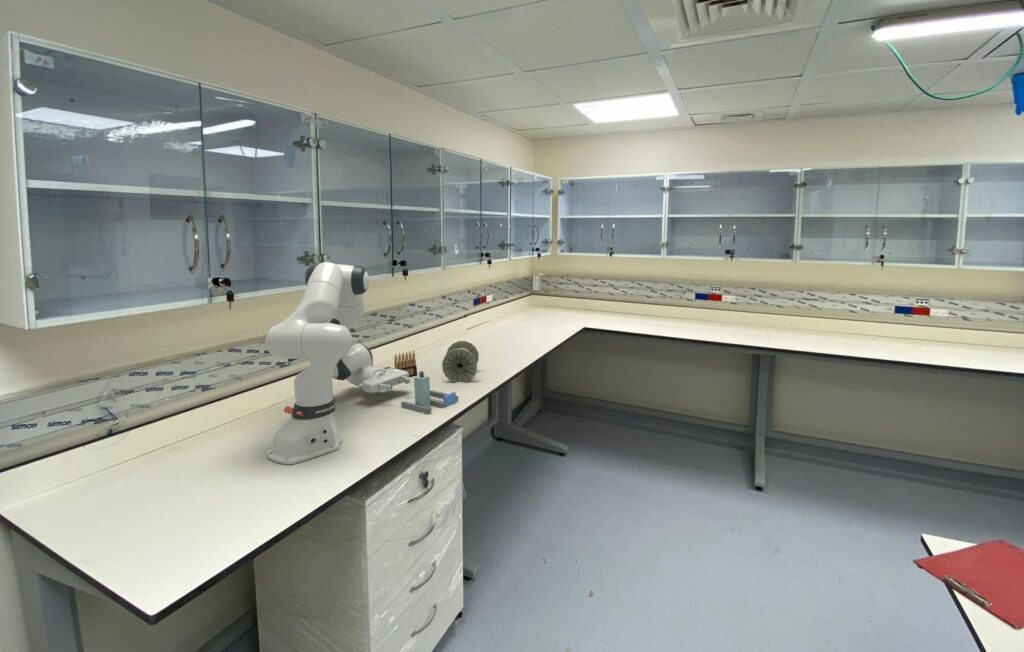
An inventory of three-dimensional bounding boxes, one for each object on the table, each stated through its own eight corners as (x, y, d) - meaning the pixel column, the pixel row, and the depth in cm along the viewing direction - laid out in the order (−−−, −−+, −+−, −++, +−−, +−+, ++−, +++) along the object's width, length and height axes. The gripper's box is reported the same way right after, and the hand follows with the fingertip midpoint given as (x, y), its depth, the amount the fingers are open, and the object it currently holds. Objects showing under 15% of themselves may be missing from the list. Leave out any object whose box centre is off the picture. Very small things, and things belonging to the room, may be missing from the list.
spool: (477, 382, 225) (476, 349, 222) (442, 383, 225) (441, 349, 222) (478, 371, 241) (478, 340, 238) (446, 372, 241) (445, 341, 238)
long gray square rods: (428, 414, 188) (428, 404, 187) (401, 407, 196) (400, 397, 195) (458, 401, 202) (458, 391, 201) (432, 394, 210) (431, 385, 209)
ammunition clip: (415, 374, 237) (414, 349, 235) (417, 375, 236) (416, 350, 234) (394, 379, 231) (392, 353, 229) (396, 380, 229) (394, 354, 227)
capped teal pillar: (423, 409, 193) (421, 373, 190) (415, 407, 195) (413, 372, 192) (430, 406, 196) (429, 371, 193) (422, 404, 198) (421, 369, 195)
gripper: (354, 377, 199) (379, 383, 192) (394, 365, 216) (417, 370, 208) (355, 393, 200) (380, 399, 193) (394, 380, 217) (418, 385, 209)
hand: (400, 384), depth 201 cm, fingers open, 8 cm apart
